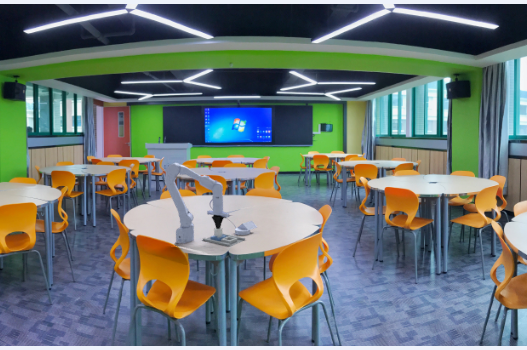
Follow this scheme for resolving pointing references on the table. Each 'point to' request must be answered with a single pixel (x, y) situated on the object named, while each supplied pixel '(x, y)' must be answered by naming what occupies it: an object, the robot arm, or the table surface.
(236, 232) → the wedge on round base
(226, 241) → the grey tray
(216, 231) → the plug
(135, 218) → the table surface
